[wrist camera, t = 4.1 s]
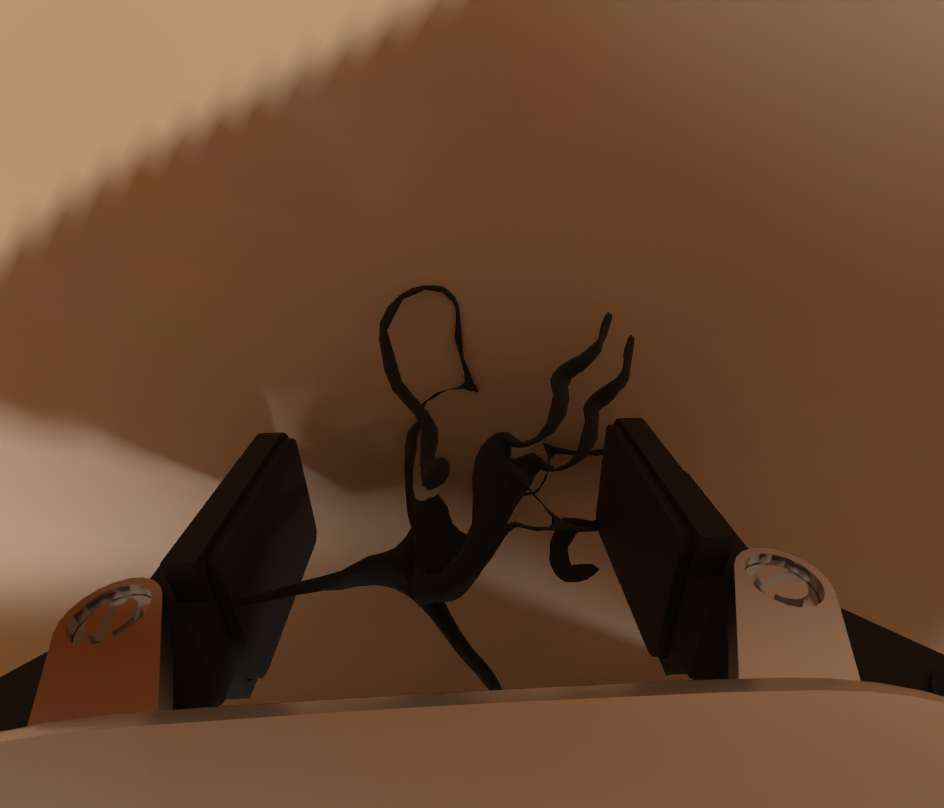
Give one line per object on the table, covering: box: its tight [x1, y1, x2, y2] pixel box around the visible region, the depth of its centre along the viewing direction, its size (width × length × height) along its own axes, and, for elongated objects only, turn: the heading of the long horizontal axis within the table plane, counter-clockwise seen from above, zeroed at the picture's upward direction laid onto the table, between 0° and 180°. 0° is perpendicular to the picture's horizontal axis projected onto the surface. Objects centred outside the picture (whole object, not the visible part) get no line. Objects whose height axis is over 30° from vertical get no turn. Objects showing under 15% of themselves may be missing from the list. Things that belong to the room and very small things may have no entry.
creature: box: [240, 286, 634, 691], centre depth 9 cm, size 8×5×8 cm
